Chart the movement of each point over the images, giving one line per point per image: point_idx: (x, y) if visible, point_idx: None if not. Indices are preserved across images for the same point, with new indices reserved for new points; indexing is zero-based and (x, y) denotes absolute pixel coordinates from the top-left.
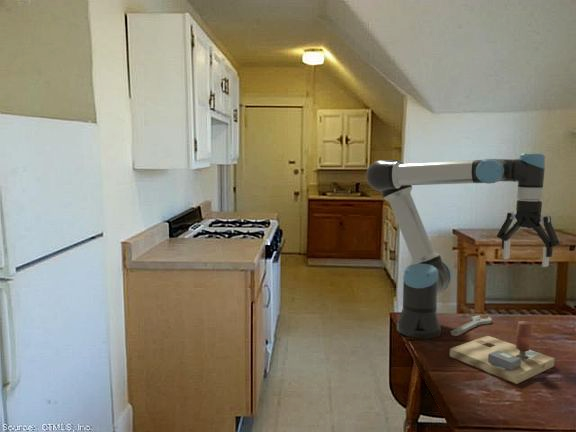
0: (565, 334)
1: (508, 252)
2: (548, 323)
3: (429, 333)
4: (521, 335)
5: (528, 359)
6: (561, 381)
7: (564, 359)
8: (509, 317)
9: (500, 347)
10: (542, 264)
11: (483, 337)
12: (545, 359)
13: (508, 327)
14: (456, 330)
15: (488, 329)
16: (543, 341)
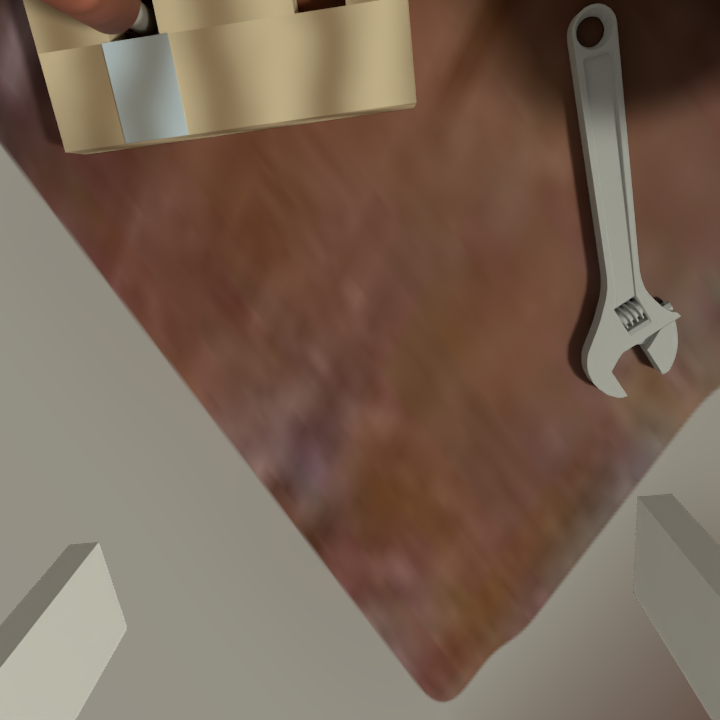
0: (316, 521)
1: (687, 643)
2: (433, 575)
3: None
4: None
5: None
6: None
7: (127, 270)
8: (576, 503)
9: (262, 11)
10: (78, 562)
11: (407, 51)
12: (68, 97)
13: (495, 387)
14: (607, 70)
15: (531, 276)
16: (302, 373)
